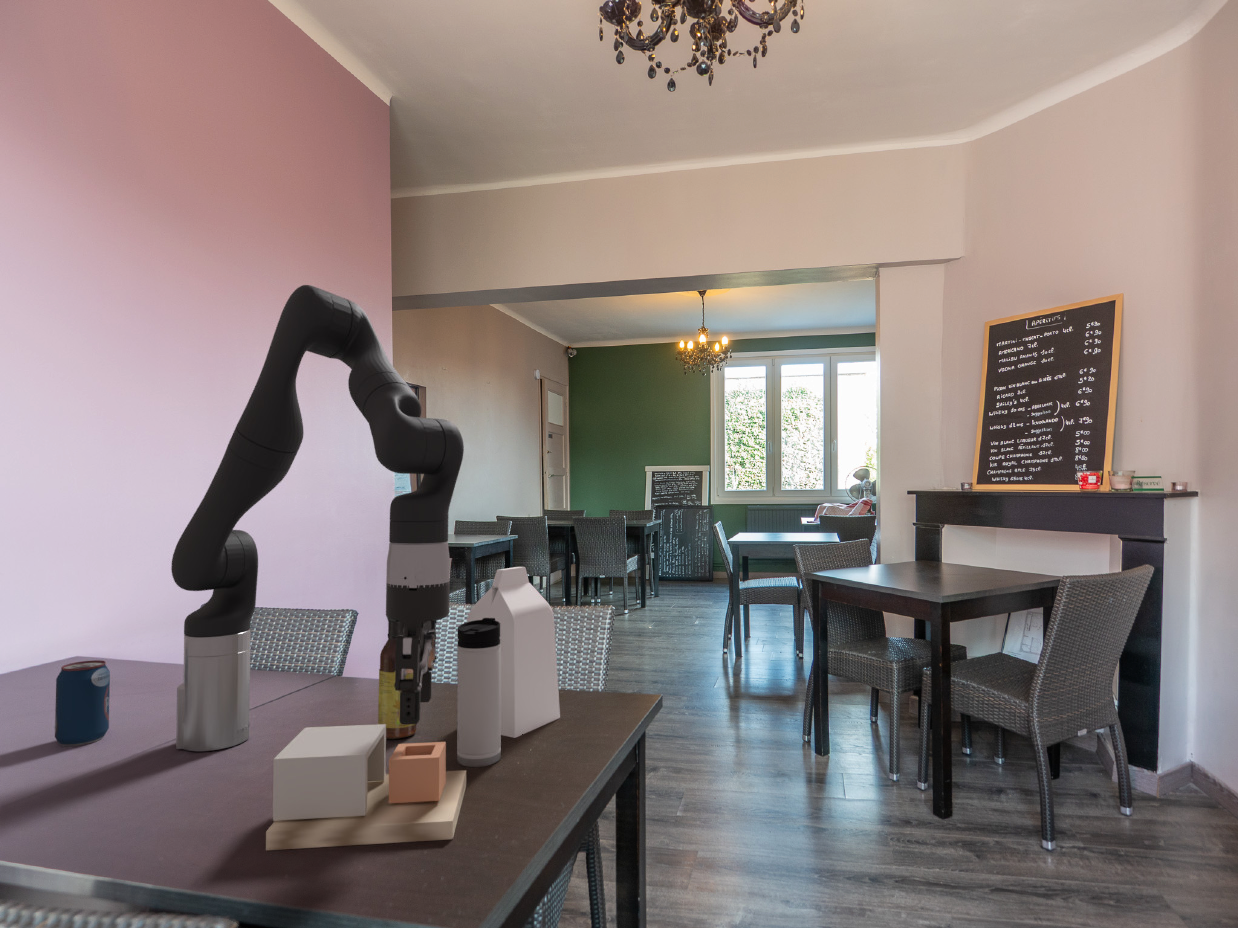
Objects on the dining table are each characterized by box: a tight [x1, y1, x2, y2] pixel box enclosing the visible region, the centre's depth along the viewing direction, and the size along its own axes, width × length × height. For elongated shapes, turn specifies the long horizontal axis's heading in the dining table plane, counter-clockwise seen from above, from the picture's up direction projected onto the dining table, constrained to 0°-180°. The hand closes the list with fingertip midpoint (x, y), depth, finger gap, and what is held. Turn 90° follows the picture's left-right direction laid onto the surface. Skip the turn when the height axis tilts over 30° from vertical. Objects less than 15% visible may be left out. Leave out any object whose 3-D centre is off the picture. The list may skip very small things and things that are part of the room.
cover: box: [272, 723, 387, 822], centre depth 87 cm, size 10×11×7 cm
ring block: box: [388, 741, 447, 803], centre depth 88 cm, size 6×6×5 cm
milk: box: [466, 566, 561, 739], centre depth 123 cm, size 12×12×26 cm
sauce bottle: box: [377, 617, 418, 740], centre depth 117 cm, size 6×6×20 cm
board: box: [265, 769, 467, 851], centre depth 87 cm, size 20×15×6 cm
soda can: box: [54, 659, 111, 747], centre depth 115 cm, size 7×7×12 cm
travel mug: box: [456, 618, 502, 768], centre depth 105 cm, size 6×7×20 cm
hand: (416, 711), depth 88 cm, fingers open, 8 cm apart
